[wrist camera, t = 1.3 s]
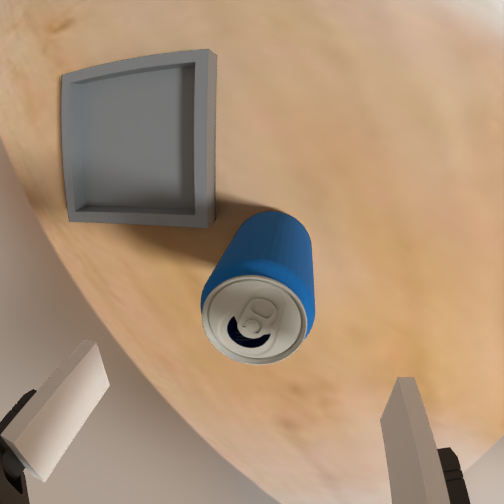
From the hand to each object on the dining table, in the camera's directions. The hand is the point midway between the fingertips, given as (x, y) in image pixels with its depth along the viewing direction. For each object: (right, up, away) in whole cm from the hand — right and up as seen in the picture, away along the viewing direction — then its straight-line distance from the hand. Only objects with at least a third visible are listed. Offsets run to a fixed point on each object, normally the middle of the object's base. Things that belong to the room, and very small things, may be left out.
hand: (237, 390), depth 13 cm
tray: (-9, +16, +13) cm, 22 cm away
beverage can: (+2, +6, +15) cm, 17 cm away
